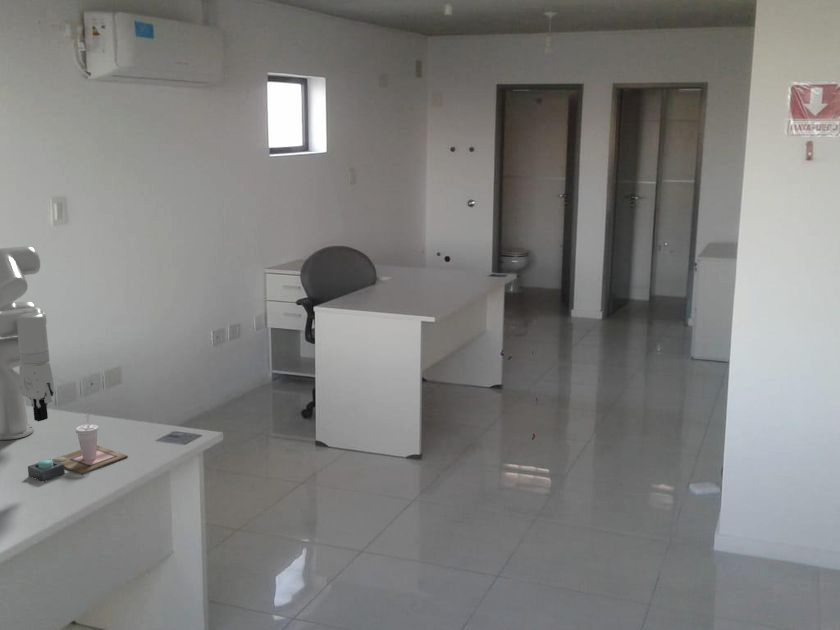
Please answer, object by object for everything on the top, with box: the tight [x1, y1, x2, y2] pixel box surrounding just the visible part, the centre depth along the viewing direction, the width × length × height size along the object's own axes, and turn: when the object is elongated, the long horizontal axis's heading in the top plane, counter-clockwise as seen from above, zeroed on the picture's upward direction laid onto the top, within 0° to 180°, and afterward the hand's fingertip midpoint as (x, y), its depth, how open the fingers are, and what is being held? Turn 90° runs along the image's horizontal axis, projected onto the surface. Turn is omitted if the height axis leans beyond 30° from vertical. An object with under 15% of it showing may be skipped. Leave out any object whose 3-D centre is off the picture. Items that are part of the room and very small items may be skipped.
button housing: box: [27, 458, 66, 482], centre depth 268 cm, size 7×7×3 cm
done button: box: [37, 458, 53, 470], centre depth 268 cm, size 4×4×3 cm
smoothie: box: [75, 413, 99, 461], centre depth 277 cm, size 6×6×14 cm
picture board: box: [51, 445, 129, 475], centre depth 279 cm, size 16×16×1 cm
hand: (41, 419), depth 264 cm, fingers closed
